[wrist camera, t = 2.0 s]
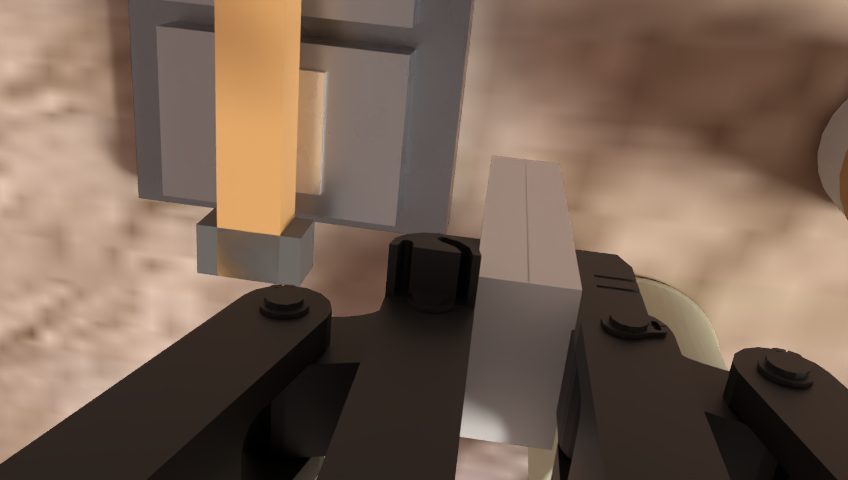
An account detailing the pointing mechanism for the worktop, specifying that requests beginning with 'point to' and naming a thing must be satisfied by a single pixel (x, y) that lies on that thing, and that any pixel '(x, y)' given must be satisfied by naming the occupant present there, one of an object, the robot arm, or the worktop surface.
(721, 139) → the worktop surface
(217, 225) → the bar
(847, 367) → the worktop surface
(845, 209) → the coffee cup
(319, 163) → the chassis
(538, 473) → the can
